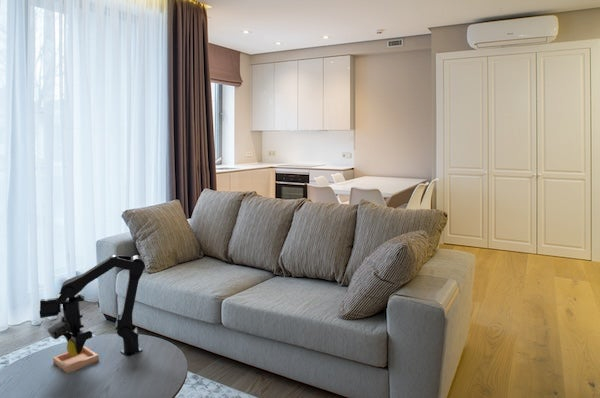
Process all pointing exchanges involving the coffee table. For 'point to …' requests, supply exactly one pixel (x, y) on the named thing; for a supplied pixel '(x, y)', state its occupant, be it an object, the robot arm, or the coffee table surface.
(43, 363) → the coffee table surface
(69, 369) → the dish
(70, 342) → the lemon
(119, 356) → the coffee table surface
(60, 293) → the robot arm
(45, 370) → the coffee table surface
